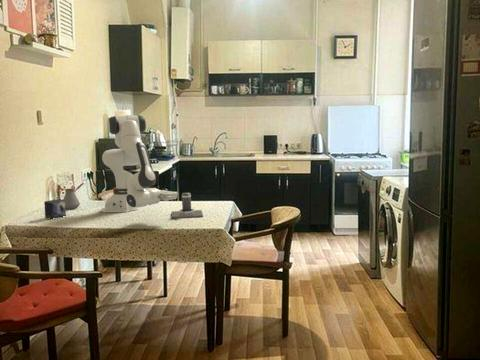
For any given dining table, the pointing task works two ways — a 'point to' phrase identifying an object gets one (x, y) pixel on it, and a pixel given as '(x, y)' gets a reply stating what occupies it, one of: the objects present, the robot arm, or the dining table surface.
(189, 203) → the grey peg
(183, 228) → the dining table surface
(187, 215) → the mount plate
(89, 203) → the dining table surface
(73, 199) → the coffee pot
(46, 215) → the small box
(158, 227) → the dining table surface
